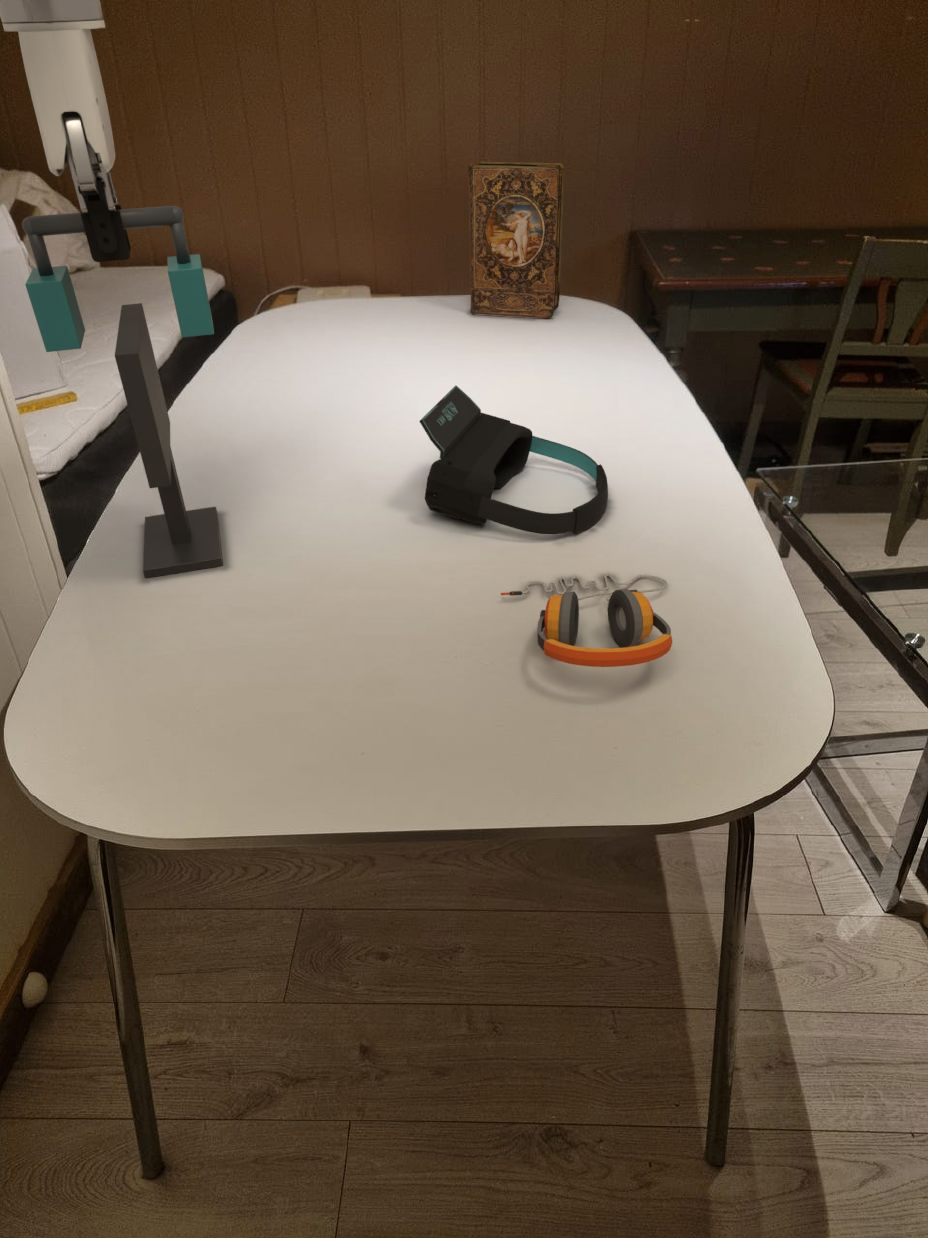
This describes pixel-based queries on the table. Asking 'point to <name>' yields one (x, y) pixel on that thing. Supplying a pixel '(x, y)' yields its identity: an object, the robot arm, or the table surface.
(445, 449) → the virtual reality headset
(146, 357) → the monitor
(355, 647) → the table surface
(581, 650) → the headphones
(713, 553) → the table surface
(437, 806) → the table surface
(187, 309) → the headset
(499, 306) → the book
